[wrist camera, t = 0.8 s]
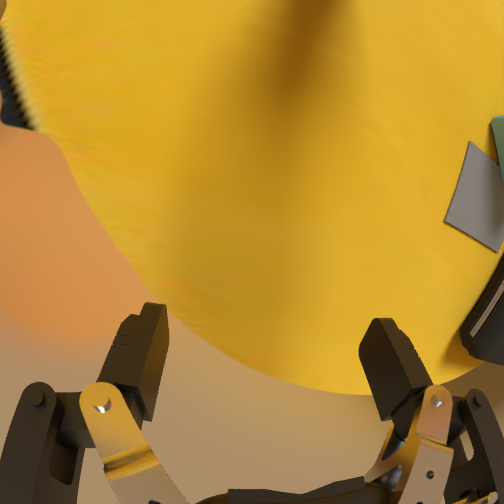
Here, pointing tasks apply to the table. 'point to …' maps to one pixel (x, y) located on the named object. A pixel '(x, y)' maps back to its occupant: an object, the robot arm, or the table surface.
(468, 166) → the mat
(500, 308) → the briefcase
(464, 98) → the table surface
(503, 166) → the data package
